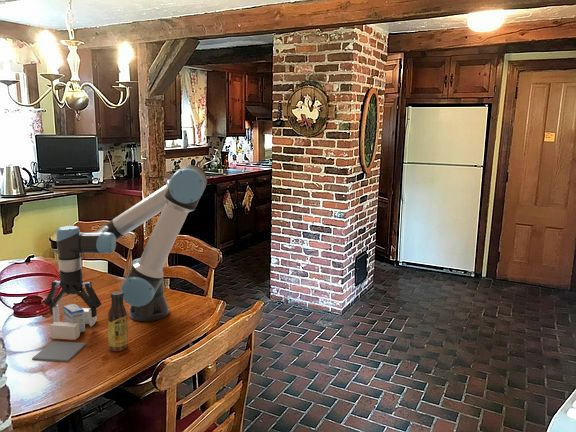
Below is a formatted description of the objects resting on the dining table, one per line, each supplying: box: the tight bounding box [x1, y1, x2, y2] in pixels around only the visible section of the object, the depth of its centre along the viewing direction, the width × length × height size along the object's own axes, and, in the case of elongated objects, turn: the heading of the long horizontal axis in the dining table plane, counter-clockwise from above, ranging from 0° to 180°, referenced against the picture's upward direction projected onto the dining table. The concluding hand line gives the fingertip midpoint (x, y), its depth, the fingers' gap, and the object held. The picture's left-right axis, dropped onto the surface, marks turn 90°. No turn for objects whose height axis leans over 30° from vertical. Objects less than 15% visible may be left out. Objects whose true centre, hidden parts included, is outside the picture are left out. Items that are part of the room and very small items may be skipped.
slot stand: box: [49, 307, 98, 341], centre depth 174 cm, size 9×16×5 cm, turn 176°
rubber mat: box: [31, 340, 87, 363], centre depth 158 cm, size 12×12×1 cm
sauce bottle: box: [107, 290, 129, 352], centre depth 159 cm, size 6×6×20 cm
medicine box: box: [62, 303, 86, 333], centre depth 174 cm, size 8×4×9 cm, turn 47°
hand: (74, 323), depth 174 cm, fingers open, 13 cm apart
